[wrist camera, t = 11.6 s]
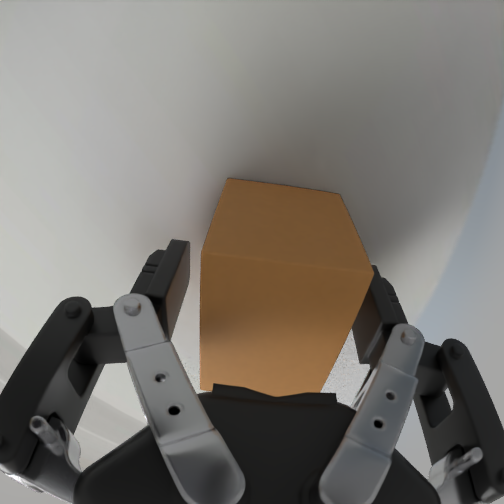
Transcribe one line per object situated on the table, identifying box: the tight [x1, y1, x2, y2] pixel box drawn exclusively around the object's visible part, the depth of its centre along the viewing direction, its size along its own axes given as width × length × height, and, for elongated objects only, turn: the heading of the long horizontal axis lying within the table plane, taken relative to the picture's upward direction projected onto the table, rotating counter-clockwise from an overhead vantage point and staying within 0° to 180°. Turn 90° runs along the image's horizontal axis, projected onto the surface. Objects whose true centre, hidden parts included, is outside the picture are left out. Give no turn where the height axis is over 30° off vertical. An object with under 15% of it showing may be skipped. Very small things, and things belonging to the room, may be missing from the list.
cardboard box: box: [200, 178, 374, 397], centre depth 12 cm, size 6×5×5 cm
